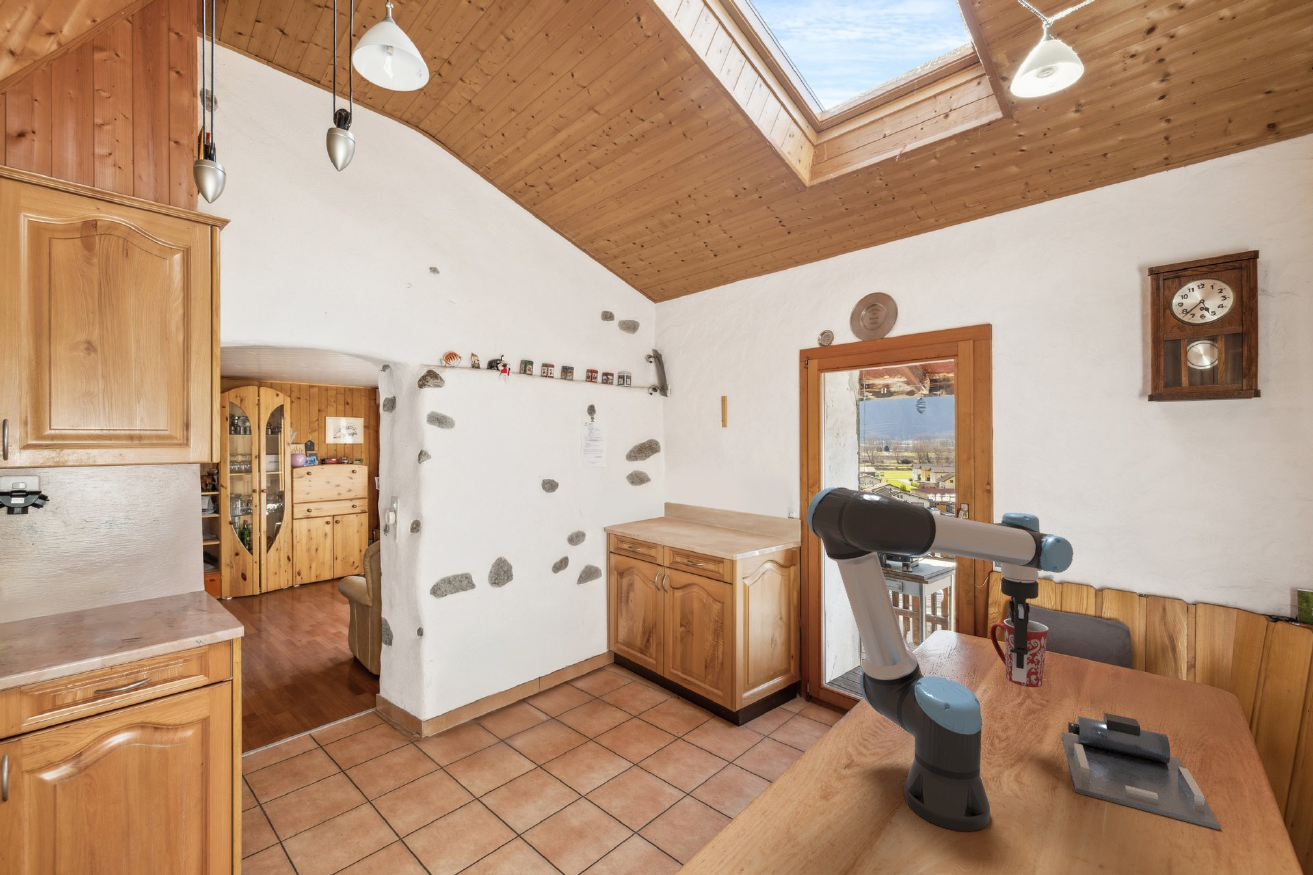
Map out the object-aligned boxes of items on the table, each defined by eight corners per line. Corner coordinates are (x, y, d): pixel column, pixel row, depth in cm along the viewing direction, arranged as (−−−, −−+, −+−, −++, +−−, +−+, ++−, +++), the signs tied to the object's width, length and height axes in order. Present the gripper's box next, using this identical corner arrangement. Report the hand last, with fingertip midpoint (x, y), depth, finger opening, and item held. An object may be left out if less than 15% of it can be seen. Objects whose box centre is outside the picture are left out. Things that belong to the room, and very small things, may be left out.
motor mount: (1219, 830, 108) (1220, 785, 108) (1075, 792, 119) (1076, 751, 119) (1179, 762, 131) (1179, 725, 131) (1061, 736, 142) (1062, 701, 142)
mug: (1056, 685, 134) (1057, 627, 134) (1031, 692, 130) (1032, 632, 130) (1003, 665, 145) (1005, 612, 145) (979, 670, 141) (980, 616, 141)
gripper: (1043, 591, 125) (1041, 694, 126) (1034, 571, 144) (1032, 661, 144) (1003, 586, 129) (1001, 687, 129) (999, 568, 148) (997, 655, 148)
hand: (1017, 673), depth 137 cm, fingers closed on mug, 8 cm apart
